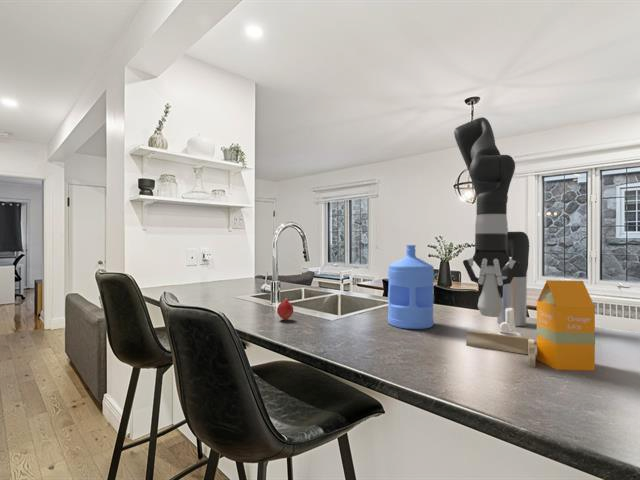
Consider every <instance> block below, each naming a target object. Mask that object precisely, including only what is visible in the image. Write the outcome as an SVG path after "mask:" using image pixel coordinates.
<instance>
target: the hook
mask: <svg viewBox="0 0 640 480" xmlns="http://www.w3.org/2000/svg"><path fill="white" fill-rule="evenodd" d="M505 316H506V322H502V323H501V324H500V323H499V328H500V331H498V332H497V334H502V335H510V336H518V337H524V335H523V334H522V333H520V332H516V331H515V330H516V326H515V324H514V309H513V308H506V309H505Z"/></svg>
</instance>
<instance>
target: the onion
mask: <svg viewBox="0 0 640 480" xmlns="http://www.w3.org/2000/svg"><path fill="white" fill-rule="evenodd" d="M276 309H277V311H276V312H277V314H278V316H279V317H280V318H281V319H282V320H283V321H287V320H289V318H290V317H291V316H292V315H293V314H294V306H293V305H292V303H291V302H289V301H288V298H284V300H282V301H281V302H280V303H279V304H278V306H277V308H276Z"/></svg>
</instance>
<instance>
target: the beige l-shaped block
mask: <svg viewBox="0 0 640 480" xmlns="http://www.w3.org/2000/svg"><path fill="white" fill-rule="evenodd" d="M465 335H466V336H465V343H466V344H465V345H466V346H469V347H474V348H482V349H489V350H497V351H501V352H502V351H503V352H511V353H517V354H522V355H523V354H526V355H528V367H533V368H536V346H535V345H536V344H535V340H534V338H533V337H525V336H523V337H518V336H510V335H502V334H498V333H493V332H483V331H476V330H469V329H468V330H467V329H466V332H465Z"/></svg>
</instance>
